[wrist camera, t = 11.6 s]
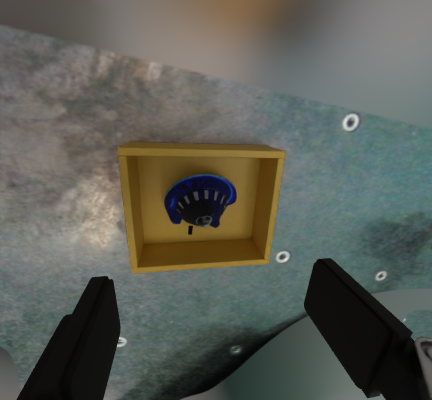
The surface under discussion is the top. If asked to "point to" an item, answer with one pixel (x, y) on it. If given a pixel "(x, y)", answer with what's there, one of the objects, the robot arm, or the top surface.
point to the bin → (186, 166)
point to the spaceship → (199, 200)
